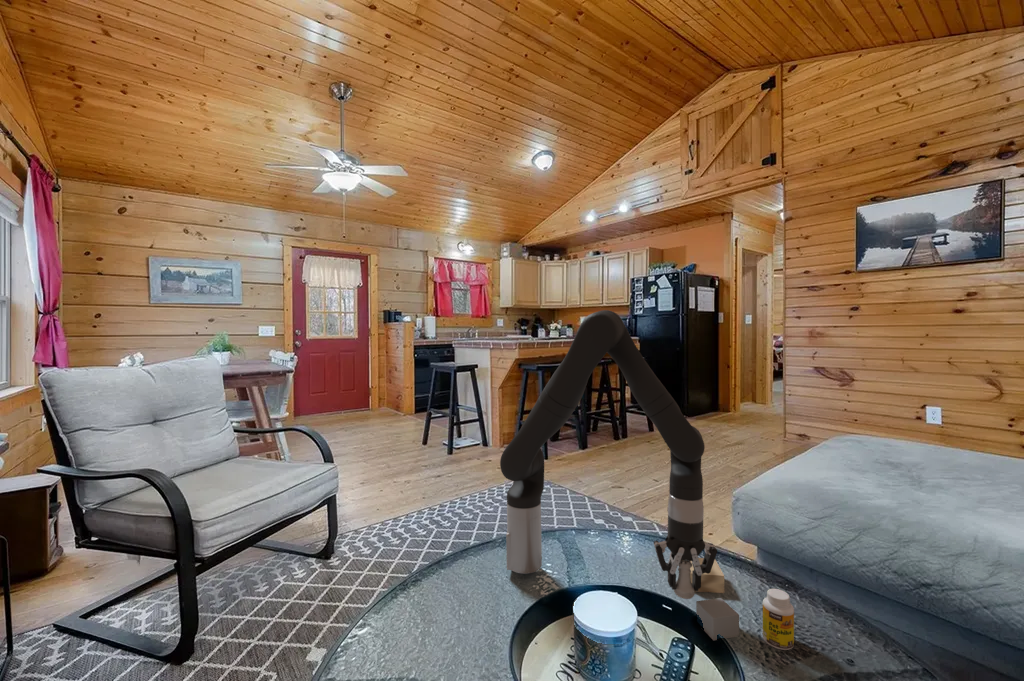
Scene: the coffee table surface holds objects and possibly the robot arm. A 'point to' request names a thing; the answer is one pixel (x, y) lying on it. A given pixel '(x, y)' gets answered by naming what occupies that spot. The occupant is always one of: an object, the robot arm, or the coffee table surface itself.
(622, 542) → the coffee table surface
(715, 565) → the oak block
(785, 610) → the supplement bottle
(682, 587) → the rook chess piece
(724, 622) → the slate block
